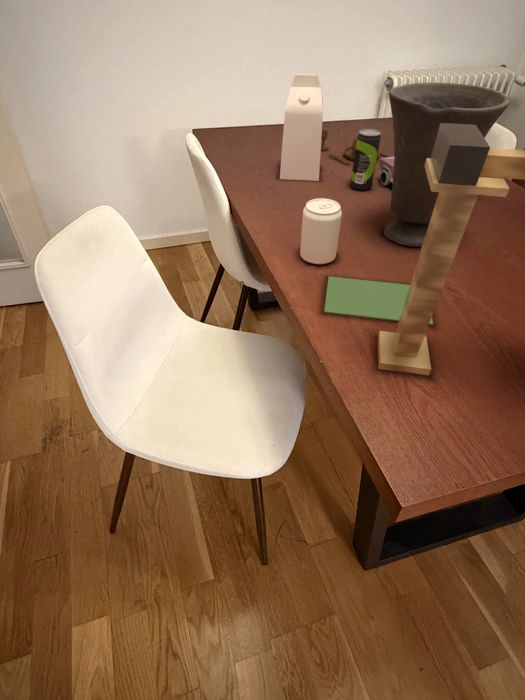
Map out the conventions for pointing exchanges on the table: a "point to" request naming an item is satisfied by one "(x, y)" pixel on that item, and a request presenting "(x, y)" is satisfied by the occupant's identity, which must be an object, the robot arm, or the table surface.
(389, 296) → the felt mat
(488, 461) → the table surface
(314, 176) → the milk
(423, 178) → the vase
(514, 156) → the mallet
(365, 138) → the beverage can
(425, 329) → the stand
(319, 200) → the beverage can
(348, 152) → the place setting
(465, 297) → the table surface
